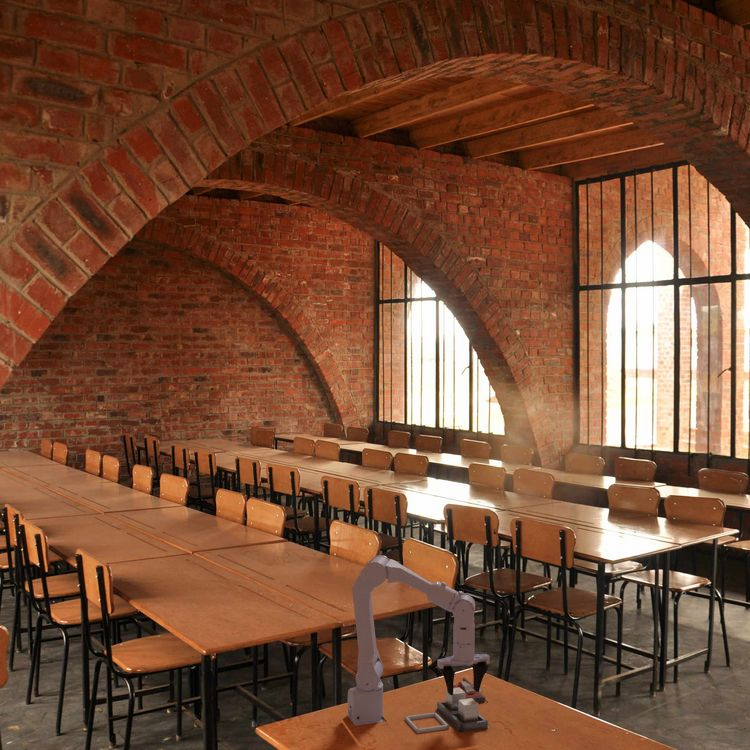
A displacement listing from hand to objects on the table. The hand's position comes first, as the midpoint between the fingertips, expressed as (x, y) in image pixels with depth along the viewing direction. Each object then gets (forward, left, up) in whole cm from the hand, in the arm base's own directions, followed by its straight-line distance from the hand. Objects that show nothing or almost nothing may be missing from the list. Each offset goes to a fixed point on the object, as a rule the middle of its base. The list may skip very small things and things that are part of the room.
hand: (463, 692), depth 223 cm
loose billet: (+1, -2, -8) cm, 8 cm away
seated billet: (+1, +7, -8) cm, 10 cm away
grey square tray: (-10, +2, -9) cm, 14 cm away
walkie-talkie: (+10, +20, -10) cm, 24 cm away
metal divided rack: (+1, +3, -9) cm, 10 cm away
